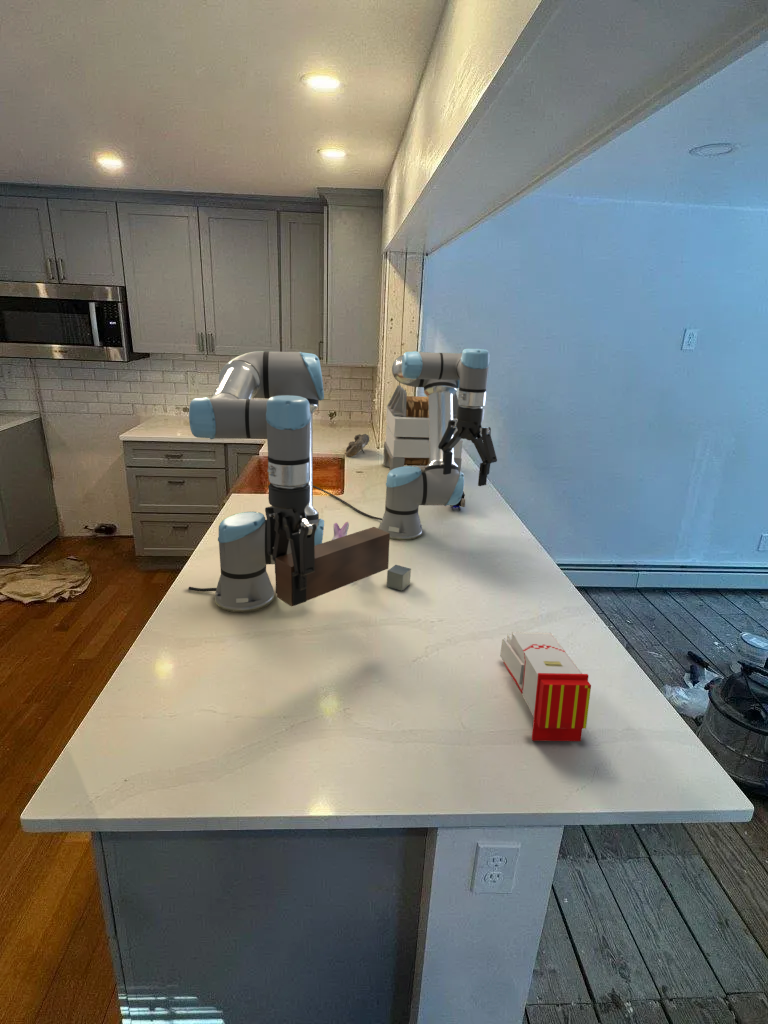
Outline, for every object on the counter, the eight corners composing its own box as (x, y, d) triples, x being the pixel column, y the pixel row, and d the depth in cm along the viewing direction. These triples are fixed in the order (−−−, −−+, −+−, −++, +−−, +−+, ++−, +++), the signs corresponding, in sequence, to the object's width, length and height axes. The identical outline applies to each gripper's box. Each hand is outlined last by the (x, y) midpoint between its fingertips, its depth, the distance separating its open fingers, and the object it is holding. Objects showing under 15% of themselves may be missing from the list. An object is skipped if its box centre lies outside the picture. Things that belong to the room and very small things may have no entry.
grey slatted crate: (382, 463, 289) (386, 382, 275) (445, 464, 293) (451, 384, 279) (390, 482, 257) (394, 392, 243) (460, 483, 261) (468, 394, 247)
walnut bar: (291, 606, 108) (290, 566, 105) (276, 597, 112) (275, 557, 109) (388, 568, 126) (389, 533, 123) (372, 561, 129) (373, 526, 126)
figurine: (335, 579, 164) (336, 531, 159) (322, 565, 172) (322, 519, 167) (364, 574, 168) (366, 527, 163) (350, 560, 177) (351, 515, 172)
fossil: (345, 440, 316) (366, 424, 311) (356, 453, 319) (377, 438, 314) (339, 453, 297) (361, 437, 292) (350, 467, 300) (373, 452, 295)
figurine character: (465, 515, 224) (460, 499, 237) (467, 498, 221) (462, 483, 234) (448, 515, 224) (444, 499, 237) (450, 498, 220) (445, 482, 234)
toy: (548, 616, 130) (600, 681, 101) (542, 669, 133) (592, 748, 104) (495, 615, 130) (533, 680, 101) (491, 669, 133) (526, 747, 103)
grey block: (386, 586, 162) (387, 570, 160) (394, 579, 166) (395, 564, 164) (402, 591, 160) (403, 575, 158) (410, 584, 164) (411, 568, 162)
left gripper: (245, 474, 107) (250, 585, 115) (300, 499, 94) (301, 622, 102) (279, 468, 112) (281, 575, 119) (336, 492, 99) (334, 609, 107)
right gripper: (429, 400, 165) (424, 471, 172) (497, 414, 147) (489, 492, 154) (447, 399, 169) (442, 467, 176) (515, 412, 152) (506, 488, 159)
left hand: (290, 596), depth 111 cm, fingers closed on walnut bar, 5 cm apart
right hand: (464, 479), depth 165 cm, fingers open, 13 cm apart
